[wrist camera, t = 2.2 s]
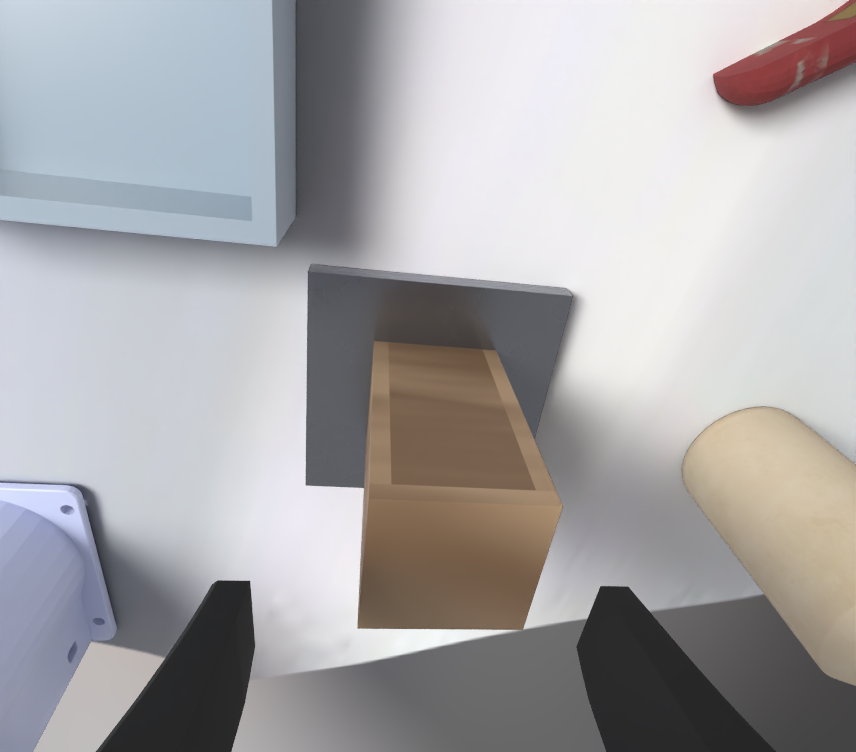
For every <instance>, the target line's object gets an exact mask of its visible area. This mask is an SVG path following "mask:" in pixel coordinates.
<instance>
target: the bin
mask: <svg viewBox="0 0 856 752" xmlns="http://www.w3.org/2000/svg"><path fill="white" fill-rule="evenodd" d="M295 218H296V0H0V220H7V221H17V222H27V223H37V224H48V225H58V226H68V227H79V228H89V229H99V230H109V231H120V232H130V233H140V234H151V235H161V236H171V237H181V238H192V239H202V240H212V241H223V242H233V243H243V244H254V245H264V246H274V247H277V245H278V244H279V242H280V241H281V239H282V238H283V236H284V235H285V233H286V232H287V230H288V229H289V227H290V226H291V224H292V223H293V221H294V220H295Z"/></svg>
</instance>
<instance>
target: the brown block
mask: <svg viewBox="0 0 856 752" xmlns="http://www.w3.org/2000/svg"><path fill="white" fill-rule="evenodd" d="M562 508H563V505H562V503H561V501H560V498H559V496H558V494H557V491H556V489H555V487H554V484H553V482H552V480H551V477H550V475H549V473H548V470H547V468H546V466H545V463H544V461H543V459H542V456H541V454H540V452H539V449H538V447H537V445H536V442H535V440H534V438H533V435H532V433H531V431H530V428H529V426H528V424H527V421H526V419H525V417H524V414H523V412H522V410H521V407H520V405H519V403H518V400H517V398H516V396H515V393H514V391H513V389H512V386H511V384H510V382H509V379H508V377H507V375H506V372H505V370H504V368H503V365H502V363H501V361H500V358H499V356H498V354H497V351H496V350H484V349H471V348H458V347H445V346H432V345H419V344H406V343H393V342H380V341H374V348H373V361H372V374H371V387H370V399H369V412H368V425H367V437H366V455H365V477H364V499H363V520H362V542H361V563H360V585H359V606H358V628H366V629H492V630H523V628H524V625H525V621H526V618H527V615H528V612H529V609H530V606H531V603H532V600H533V597H534V594H535V591H536V588H537V585H538V581H539V578H540V575H541V572H542V569H543V566H544V563H545V560H546V557H547V554H548V551H549V548H550V545H551V541H552V538H553V535H554V532H555V529H556V526H557V523H558V520H559V517H560V514H561V511H562Z"/></svg>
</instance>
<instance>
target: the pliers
mask: <svg viewBox="0 0 856 752" xmlns="http://www.w3.org/2000/svg"><path fill="white" fill-rule="evenodd" d="M854 62H856V0H849V1H848V2H846V3H845V4H844V5H842V6H841V7H840V8H838V9H837V10H835V11H834V12H833V13H831V14H829V15H828V16H826V17H824V18H823V19H821V20H820V21H818V22H816V23H815V24H813V25H811V26H809V27H807V28H805V29H803V30H801V31H799V32H797V33H795V34H792V35H790V36H788V37H786V38H784V39H782V40H780V41H778V42H776V43H774V44H772V45H770V46H768V47H766V48H764V49H762V50H760V51H758V52H756V53H754V54H752V55H750V56H748V57H746V58H744V59H742V60H740V61H738V62H736V63H734V64H732V65H731V66H729V67H727V68H725V69H723V70H721V71H719V72H717V73H715V74H713V77H714V82H715V86H716V90H717V92H718V93H719V95H720V96H722V97H723V98H724V99H726V100H727V101H729V102H731V103H734V104H737V105H745V106H752V105H759V104H763V103H766V102H770V101H773V100H775V99H777V98H779V97H781V96H783V95H785V94H787V93H790V92H792V91H794V90H796V89H798V88H800V87H803V86H805V85H807V84H809V83H811V82H813V81H816V80H818V79H820V78H822V77H824V76H826V75H829V74H831V73H833V72H835V71H837V70H839V69H842V68H844V67H846V66H848V65H850V64H852V63H854Z"/></svg>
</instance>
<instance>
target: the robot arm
mask: <svg viewBox="0 0 856 752" xmlns="http://www.w3.org/2000/svg"><path fill="white" fill-rule="evenodd" d="M67 505H68V506H67ZM69 506H71V507H72V508H71V507H69ZM116 631H117V627H116V623H115V619H114V615H113V612H112V608H111V604H110V600H109V596H108V592H107V588H106V584H105V580H104V577H103V573H102V569H101V565H100V561H99V557H98V553H97V549H96V546H95V542H94V538H93V534H92V530H91V526H90V522H89V518H88V515H87V511H86V507H85V503H84V499H83V495H82V493H81V492H80V491H79V490H78V489H77V488H75V487H73V486H68V485H46V484H20V483H0V752H33V751H34V749H35V747H36V745H37V743H38V741H39V739H40V737H41V735H42V734H43V732H44V730H45V728H46V726H47V724H48V722H49V720H50V718H51V716H52V715H53V712H54V711H55V709H56V707H57V705H58V703H59V701H60V699H61V697H62V696H63V694H64V692H65V690H66V688H67V686H68V684H69V682H70V680H71V678H72V677H73V675H74V673H75V671H76V669H77V667H78V665H79V663H80V661H81V659H82V657H83V655H84V654H85V652H86V650H87V648H88V646H89V644H90V642H91V641H107V640H110V639H112V638H113V637H114V635H115V633H116ZM254 649H255V640H254V627H253V614H252V601H251V588H250V581H216V582H215V583H214V584H212V586H211V587H210V589H209V591H208V593H207V594H206V596H205V598H204V600H203V601H202V603H201V605H200V606H199V608H198V609H197V611H196V613H195V614H194V616H193V618H192V619H191V621H190V622H189V624H188V625H187V627H186V628H185V630H184V632H183V633H182V635H181V636H180V638H179V639H178V641H177V642H176V644H175V645H174V647H173V648H172V650H171V651H170V653H169V654H168V655H167V657H166V658H165V660H164V661H163V663H162V664H161V665H160V667H159V668H158V670H157V671H156V672H155V674H154V675H153V677H152V678H151V680H150V681H149V682H148V684H147V685H146V687H145V688H144V689H143V691H142V692H141V694H140V695H139V696H138V698H137V699H136V700H135V702H134V703H133V704H132V706H131V707H130V708H129V710H128V711H127V712H126V714H125V715H124V716H123V717H122V719H121V720H120V721H119V723H118V724H117V725H116V726H115V728H114V729H113V730H112V732H111V733H110V734H109V736H108V737H107V738H106V739H105V741H104V742H103V743H102V745H101V746H100V747H99V748H98V750H97V751H96V752H231V751H232V747H233V743H234V740H235V736H236V733H237V729H238V726H239V722H240V718H241V715H242V711H243V707H244V704H245V699H246V693H247V688H248V683H249V677H250V672H251V666H252V661H253V655H254ZM577 651H578V656H579V660H580V665H581V669H582V673H583V678H584V682H585V687H586V691H587V695H588V699H589V702H590V704H591V708H592V711H593V714H594V717H595V719H596V722H597V725H598V729H599V731H600V734H601V737H602V740H603V743H604V746H605V749H606V752H776V751H775V750H774V749H773V748H772V747H771V746H770V745H769V744H768V743H767V742H766V741H765V740H764V739H763V738H762V737H761V736H760V735H759V734H758V733H757V732H756V731H755V730H754V729H753V728H752V727H751V726H750V725H749V724H748V722H747V721H745V719H744V718H743V717H742V716H741V715H740V714H739V713H738V712H737V711H736V710H735V709H734V708H733V707H732V706H731V704H730V703H729V702H728V701H727V700H726V699H725V698H724V697H723V696H722V695H721V694H720V692H718V690H717V689H716V688H715V687H714V686H713V685H712V684H711V683H710V681H709V680H708V679H707V678H706V677H705V676H704V675H703V673H702V672H701V671H700V670H699V669H698V668H697V667H696V666H695V664H694V663H693V662H692V661H691V660H690V659H689V658H688V656H687V655H686V654H685V653H684V652H683V651H682V649H681V648H680V647H679V646H678V645H677V644H676V642H675V641H674V640H673V639H672V638H671V637H670V636H669V634H668V633H667V632H666V631H665V630H664V628H663V627H662V626H661V625H660V624H659V623H658V621H657V620H656V619H655V618H654V617H653V615H652V614H651V613H650V612H649V611H648V610H647V608H646V607H645V606H644V605H643V604H642V602H641V601H640V600H639V599H638V598H637V597H636V595H635V594H634V593H633V592H632V591H631V590H630V588H629V587H616V586H601V587H600V589H599V592H598V594H597V597H596V599H595V602H594V604H593V607H592V609H591V612H590V614H589V617H588V619H587V622H586V624H585V627H584V629H583V632H582V634H581V637H580V639H579V642H578V645H577Z"/></svg>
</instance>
